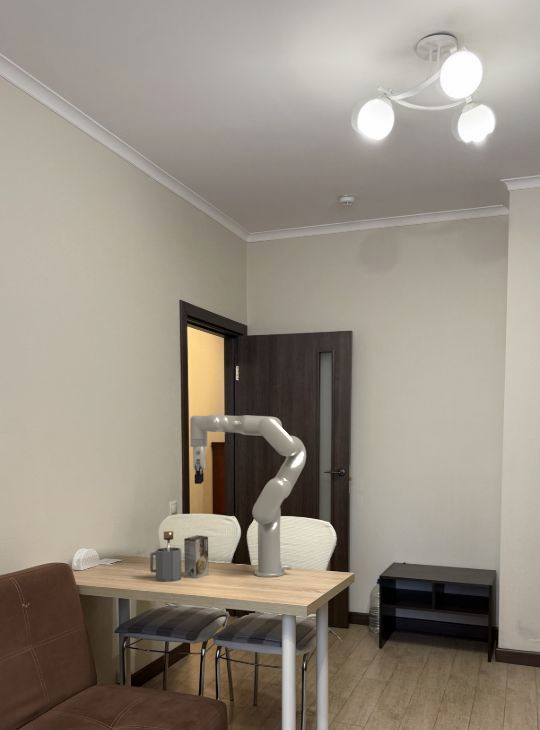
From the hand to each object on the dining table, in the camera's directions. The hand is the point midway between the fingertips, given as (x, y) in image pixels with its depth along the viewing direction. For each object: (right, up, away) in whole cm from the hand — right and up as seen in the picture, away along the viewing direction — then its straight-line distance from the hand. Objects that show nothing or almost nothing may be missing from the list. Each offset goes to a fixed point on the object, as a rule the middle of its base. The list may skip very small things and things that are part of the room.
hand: (199, 482), depth 305 cm
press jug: (-12, -37, -17) cm, 43 cm away
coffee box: (0, -38, -11) cm, 39 cm away
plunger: (-11, -34, -16) cm, 40 cm away
